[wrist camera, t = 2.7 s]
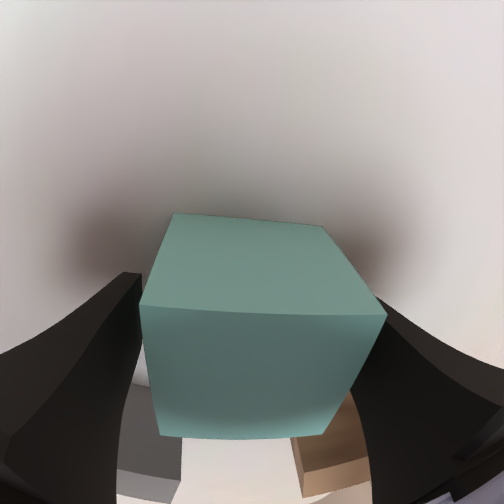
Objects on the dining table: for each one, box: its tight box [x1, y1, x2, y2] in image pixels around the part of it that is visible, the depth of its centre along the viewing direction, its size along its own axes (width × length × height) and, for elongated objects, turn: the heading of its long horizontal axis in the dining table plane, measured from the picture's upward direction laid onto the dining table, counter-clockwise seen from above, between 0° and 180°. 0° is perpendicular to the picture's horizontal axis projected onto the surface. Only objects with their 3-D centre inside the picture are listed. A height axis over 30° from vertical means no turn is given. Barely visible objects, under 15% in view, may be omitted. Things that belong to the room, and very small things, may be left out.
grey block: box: [116, 383, 182, 504], centre depth 12 cm, size 5×5×5 cm
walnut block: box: [290, 390, 371, 498], centre depth 13 cm, size 5×5×5 cm
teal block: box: [139, 213, 388, 440], centre depth 9 cm, size 5×5×5 cm
